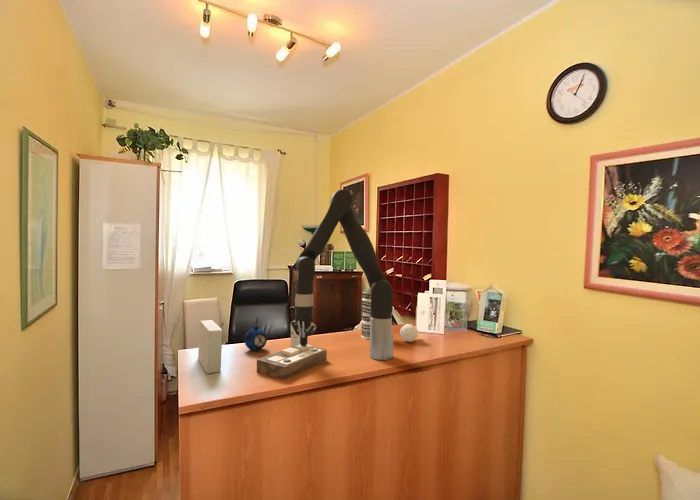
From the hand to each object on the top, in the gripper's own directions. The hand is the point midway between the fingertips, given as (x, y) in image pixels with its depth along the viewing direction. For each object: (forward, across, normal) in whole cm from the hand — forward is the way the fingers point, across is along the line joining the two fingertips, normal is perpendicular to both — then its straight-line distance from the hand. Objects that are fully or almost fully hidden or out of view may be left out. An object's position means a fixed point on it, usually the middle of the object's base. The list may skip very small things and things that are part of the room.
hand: (303, 345), depth 144 cm
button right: (+3, 0, 0) cm, 3 cm away
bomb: (+6, +25, +3) cm, 26 cm away
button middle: (+3, 0, +8) cm, 8 cm away
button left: (+4, 0, +16) cm, 17 cm away
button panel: (+6, -2, +8) cm, 10 cm away
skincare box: (+6, +26, +26) cm, 38 cm away
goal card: (+1, -6, +8) cm, 10 cm away
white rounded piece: (+6, -26, -53) cm, 59 cm away
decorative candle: (+6, -5, -47) cm, 48 cm away
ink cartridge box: (+6, +15, -14) cm, 22 cm away
